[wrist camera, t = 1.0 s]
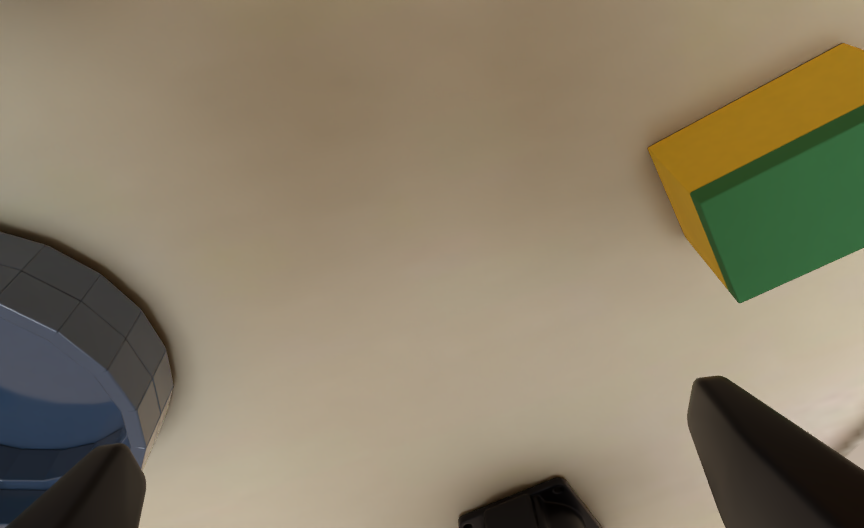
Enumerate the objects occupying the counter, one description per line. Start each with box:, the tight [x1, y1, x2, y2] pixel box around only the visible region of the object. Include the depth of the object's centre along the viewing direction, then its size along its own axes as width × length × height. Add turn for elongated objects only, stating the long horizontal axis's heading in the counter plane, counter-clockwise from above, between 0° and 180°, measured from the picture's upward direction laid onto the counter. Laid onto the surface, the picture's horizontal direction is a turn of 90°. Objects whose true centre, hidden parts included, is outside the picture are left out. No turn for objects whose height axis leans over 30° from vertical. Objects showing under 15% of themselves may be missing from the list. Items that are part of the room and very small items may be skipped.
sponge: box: [648, 43, 864, 303], centre depth 20 cm, size 7×4×4 cm, turn 121°
